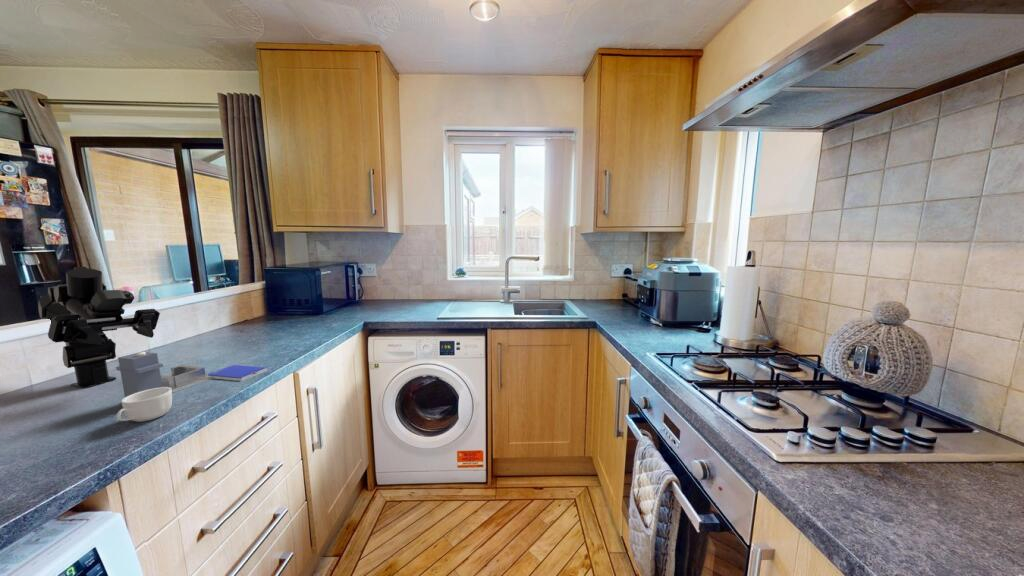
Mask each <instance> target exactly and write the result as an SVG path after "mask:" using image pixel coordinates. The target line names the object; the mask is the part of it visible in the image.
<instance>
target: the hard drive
mask: <svg viewBox="0 0 1024 576" xmlns="http://www.w3.org/2000/svg"><path fill="white" fill-rule="evenodd" d="M267 371H268V367H264V366H263V367H262V366H251V365H241V364H233V365H230V366H226V367H224V368H221V369H218V370H216V371H211V372H210V373H207V375H211V376H214V379H217V380H227V381H237V382H239V381H240V382H242V381H246V380H247V379H250V378H252V377H255V376H257V375H260V374H263V373H264V372H267Z"/></svg>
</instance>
